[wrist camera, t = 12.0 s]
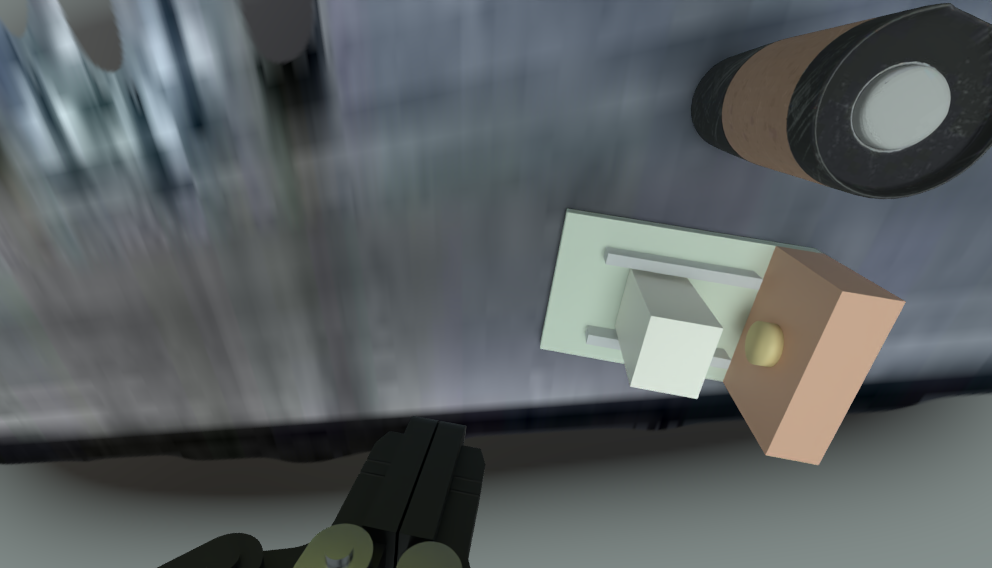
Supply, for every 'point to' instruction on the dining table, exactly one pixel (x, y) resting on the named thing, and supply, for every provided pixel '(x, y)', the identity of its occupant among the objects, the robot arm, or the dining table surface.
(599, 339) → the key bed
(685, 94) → the dining table surface
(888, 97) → the travel mug
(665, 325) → the white rectangular block
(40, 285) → the dining table surface
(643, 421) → the dining table surface
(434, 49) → the dining table surface
